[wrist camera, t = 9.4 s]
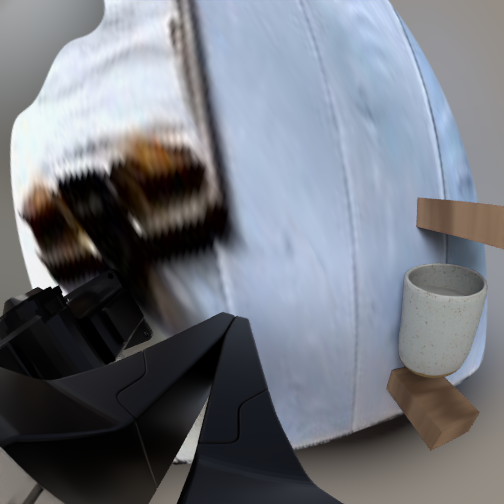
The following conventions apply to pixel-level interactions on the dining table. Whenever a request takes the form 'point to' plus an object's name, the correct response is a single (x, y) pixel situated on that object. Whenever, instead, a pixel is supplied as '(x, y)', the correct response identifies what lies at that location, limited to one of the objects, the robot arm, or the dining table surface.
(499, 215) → the walnut bookends
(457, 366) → the ceramic mug
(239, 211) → the dining table surface
